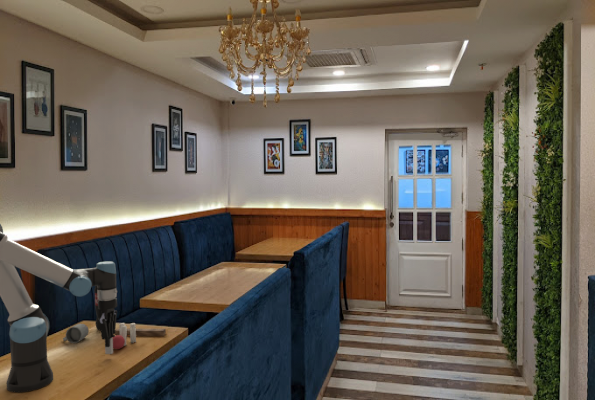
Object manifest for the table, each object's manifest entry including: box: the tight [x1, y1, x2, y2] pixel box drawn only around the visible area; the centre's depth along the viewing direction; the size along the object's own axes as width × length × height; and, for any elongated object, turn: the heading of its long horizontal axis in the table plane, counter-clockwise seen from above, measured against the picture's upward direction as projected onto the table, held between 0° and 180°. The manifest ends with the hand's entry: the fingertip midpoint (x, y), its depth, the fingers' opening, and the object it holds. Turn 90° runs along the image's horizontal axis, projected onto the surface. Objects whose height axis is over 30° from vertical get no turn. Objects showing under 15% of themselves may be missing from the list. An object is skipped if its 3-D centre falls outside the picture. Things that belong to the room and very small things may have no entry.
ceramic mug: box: [62, 323, 90, 344], centre depth 220 cm, size 11×8×8 cm
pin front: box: [121, 325, 128, 347], centre depth 212 cm, size 2×2×8 cm
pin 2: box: [129, 322, 137, 344], centre depth 216 cm, size 2×2×8 cm
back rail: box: [114, 328, 167, 337], centre depth 226 cm, size 24×3×2 cm, turn 87°
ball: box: [112, 335, 125, 350], centre depth 208 cm, size 6×6×6 cm
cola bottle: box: [93, 286, 102, 331], centre depth 235 cm, size 8×8×30 cm
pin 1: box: [118, 322, 126, 336], centre depth 217 cm, size 2×2×8 cm
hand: (109, 353), depth 198 cm, fingers closed
